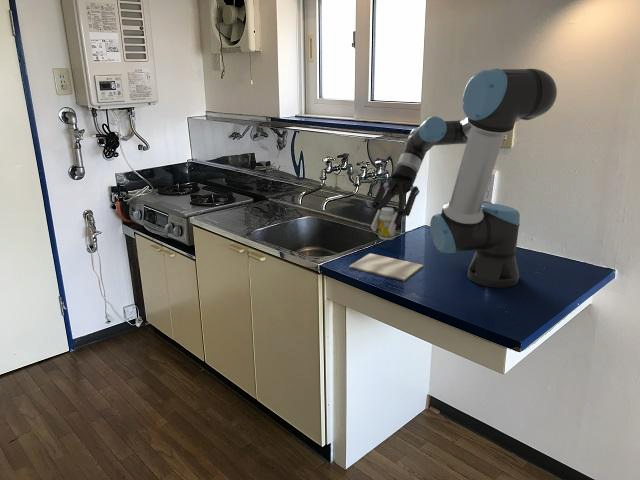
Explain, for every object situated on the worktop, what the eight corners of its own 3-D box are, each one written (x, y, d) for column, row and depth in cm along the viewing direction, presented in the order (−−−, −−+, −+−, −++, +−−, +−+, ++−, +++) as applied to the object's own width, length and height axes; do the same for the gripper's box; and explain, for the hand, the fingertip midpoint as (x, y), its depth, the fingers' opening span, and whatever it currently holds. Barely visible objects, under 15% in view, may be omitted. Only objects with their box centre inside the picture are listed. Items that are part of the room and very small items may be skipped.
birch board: (422, 266, 171) (423, 264, 171) (404, 280, 160) (404, 279, 160) (369, 254, 182) (369, 253, 181) (349, 267, 171) (349, 265, 171)
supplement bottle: (395, 240, 165) (396, 211, 162) (378, 240, 166) (379, 211, 162) (394, 234, 170) (395, 206, 167) (378, 234, 171) (379, 206, 167)
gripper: (435, 180, 169) (411, 241, 162) (385, 173, 179) (360, 231, 172) (429, 166, 163) (404, 230, 156) (378, 160, 173) (352, 220, 166)
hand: (381, 230), depth 164 cm, fingers closed on supplement bottle, 5 cm apart
